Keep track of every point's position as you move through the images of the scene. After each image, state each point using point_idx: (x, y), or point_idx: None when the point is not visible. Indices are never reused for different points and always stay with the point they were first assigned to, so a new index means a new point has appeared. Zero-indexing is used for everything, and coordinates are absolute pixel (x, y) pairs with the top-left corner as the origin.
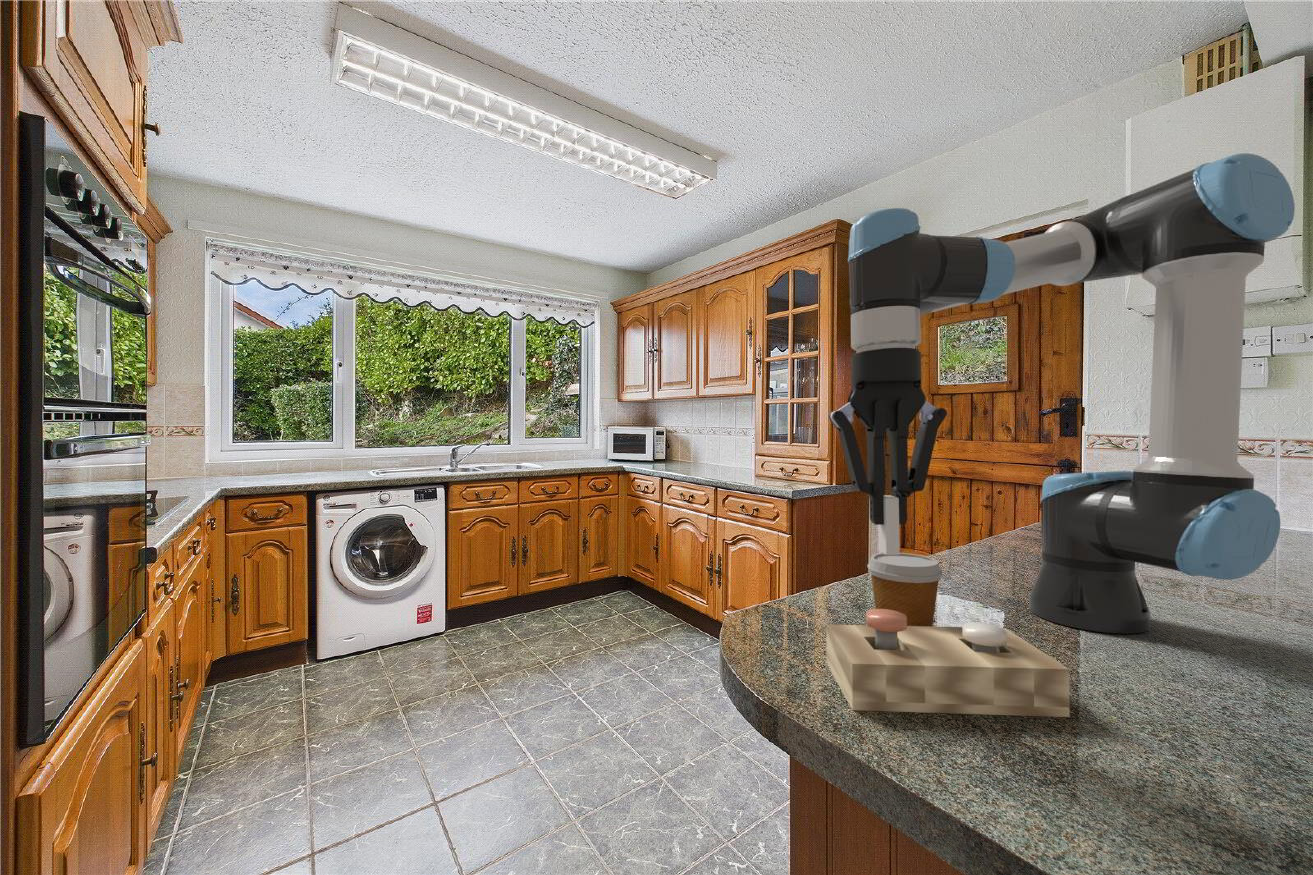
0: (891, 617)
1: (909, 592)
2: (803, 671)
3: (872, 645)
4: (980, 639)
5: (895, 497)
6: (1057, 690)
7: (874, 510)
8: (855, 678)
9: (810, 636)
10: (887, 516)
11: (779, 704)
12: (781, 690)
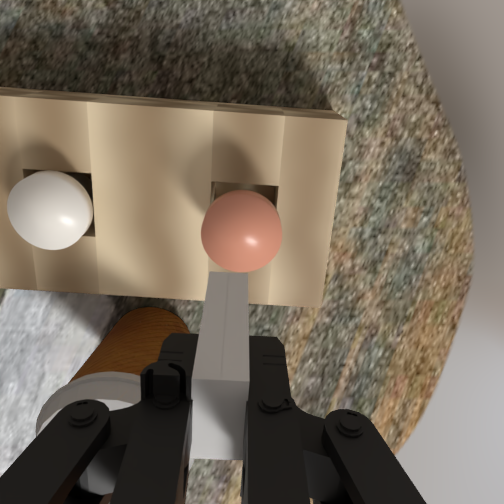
0: (236, 219)
1: (136, 363)
2: (361, 246)
3: None
4: (71, 181)
5: (196, 398)
6: None
7: (282, 368)
8: (337, 116)
9: (300, 375)
10: (241, 336)
11: (444, 131)
12: (423, 179)
